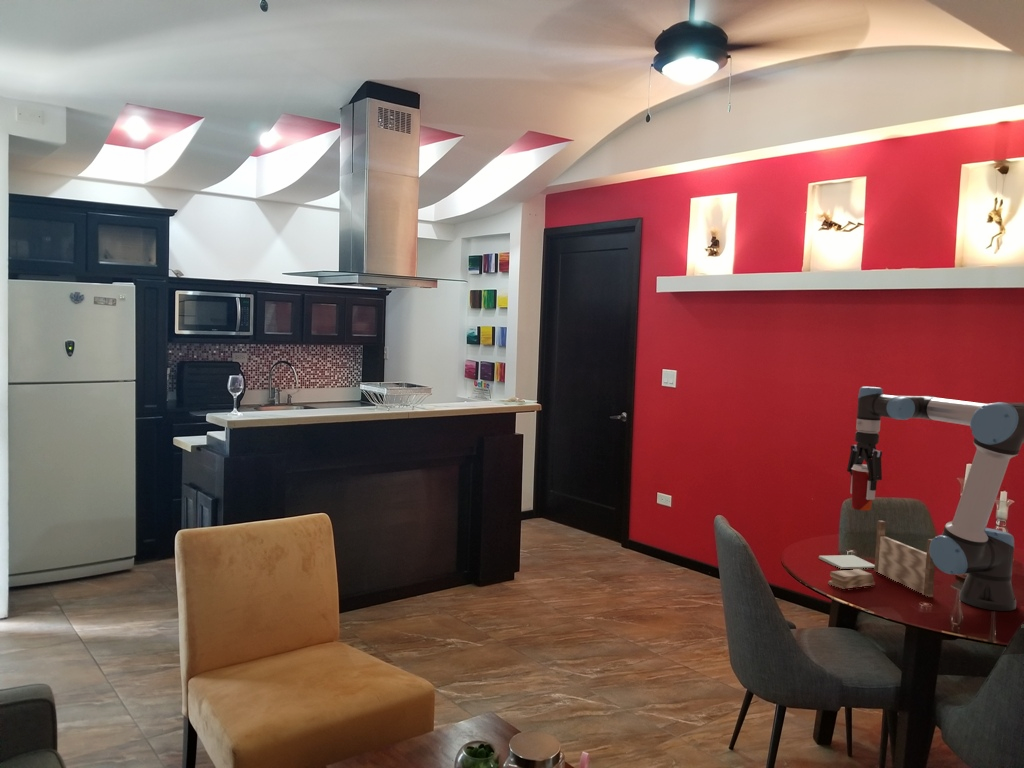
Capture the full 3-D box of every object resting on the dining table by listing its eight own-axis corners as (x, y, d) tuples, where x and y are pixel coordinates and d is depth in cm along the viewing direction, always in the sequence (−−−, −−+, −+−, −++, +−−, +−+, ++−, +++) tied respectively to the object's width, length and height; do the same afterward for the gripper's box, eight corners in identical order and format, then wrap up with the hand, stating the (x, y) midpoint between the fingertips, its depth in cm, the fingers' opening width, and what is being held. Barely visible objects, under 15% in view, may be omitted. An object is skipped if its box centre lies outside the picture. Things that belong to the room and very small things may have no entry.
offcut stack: (843, 591, 252) (844, 577, 252) (827, 585, 258) (828, 571, 258) (875, 587, 258) (876, 573, 258) (859, 581, 264) (860, 567, 264)
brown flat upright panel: (932, 596, 249) (936, 540, 248) (927, 597, 249) (931, 540, 248) (878, 571, 275) (882, 520, 274) (874, 571, 274) (877, 520, 273)
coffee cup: (875, 512, 269) (879, 469, 268) (849, 509, 272) (852, 466, 271) (872, 507, 277) (876, 465, 276) (847, 504, 280) (850, 462, 279)
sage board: (877, 569, 278) (877, 566, 278) (841, 569, 275) (841, 567, 275) (853, 557, 292) (853, 555, 292) (818, 558, 289) (818, 555, 289)
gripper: (839, 427, 282) (834, 489, 284) (877, 436, 262) (872, 503, 263) (858, 427, 284) (852, 489, 285) (897, 436, 263) (892, 503, 265)
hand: (862, 496), depth 274 cm, fingers closed on coffee cup, 8 cm apart
